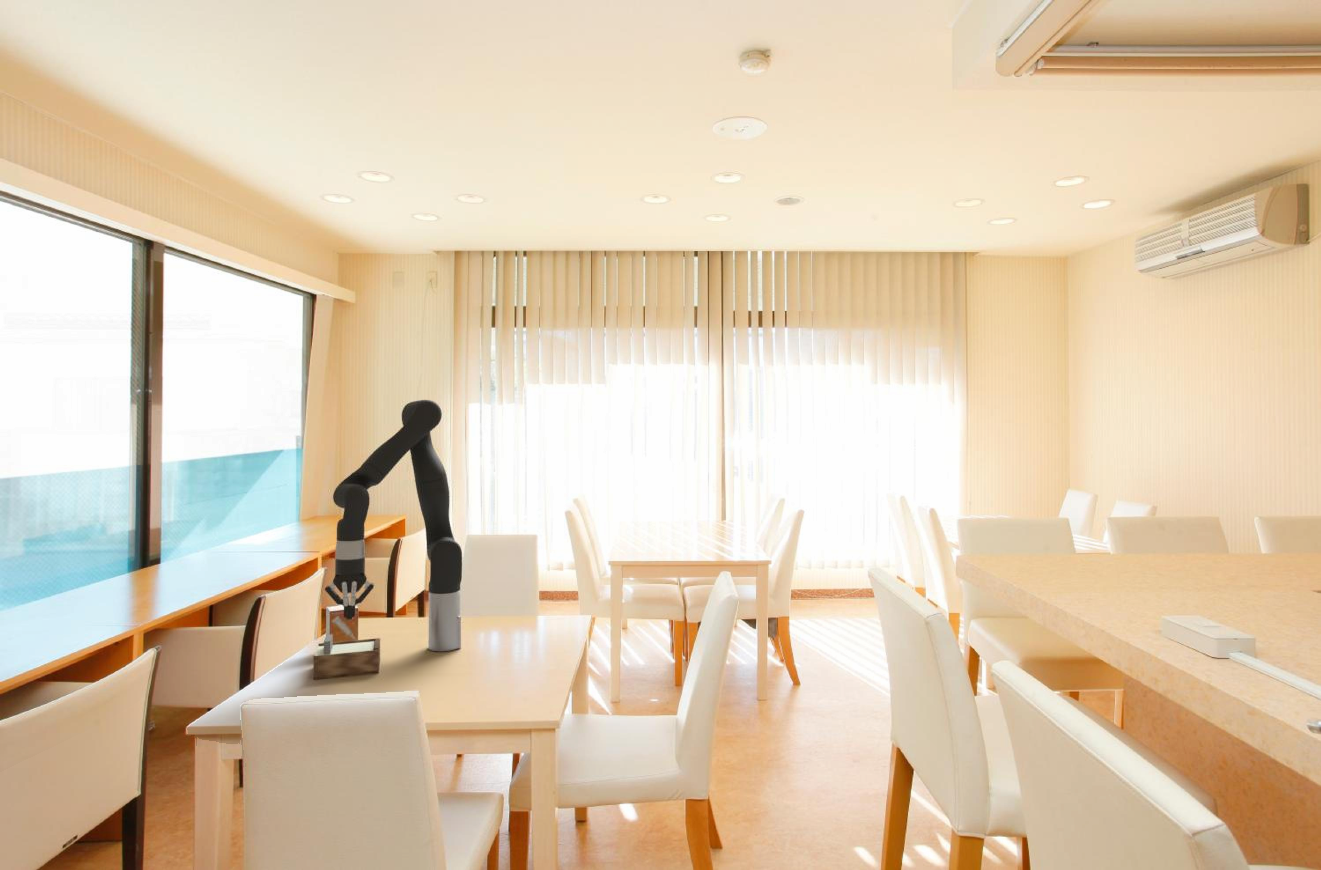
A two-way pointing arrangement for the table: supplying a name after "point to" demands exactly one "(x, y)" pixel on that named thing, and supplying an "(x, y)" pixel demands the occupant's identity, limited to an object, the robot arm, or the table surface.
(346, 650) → the cover plate
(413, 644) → the table surface
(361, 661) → the walnut box
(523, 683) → the table surface
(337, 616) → the small box
